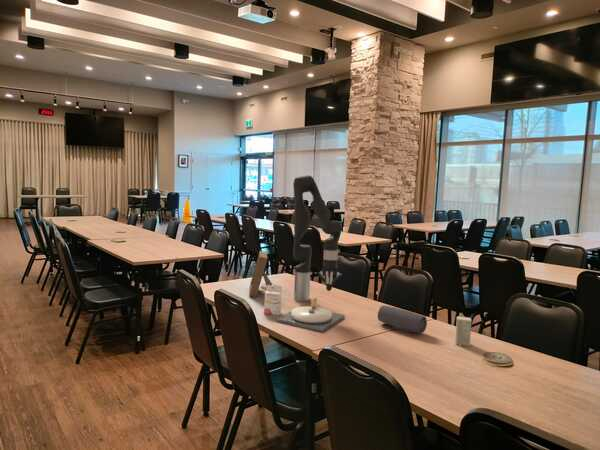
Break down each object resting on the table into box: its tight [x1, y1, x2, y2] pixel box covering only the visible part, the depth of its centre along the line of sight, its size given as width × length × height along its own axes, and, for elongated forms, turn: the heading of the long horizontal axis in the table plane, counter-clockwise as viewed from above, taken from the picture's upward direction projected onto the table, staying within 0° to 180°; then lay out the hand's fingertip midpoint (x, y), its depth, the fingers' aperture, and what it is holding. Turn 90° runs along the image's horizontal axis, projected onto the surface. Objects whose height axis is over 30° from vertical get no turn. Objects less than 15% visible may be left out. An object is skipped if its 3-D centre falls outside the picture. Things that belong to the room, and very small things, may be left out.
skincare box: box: [454, 316, 472, 347], centre depth 189 cm, size 6×4×12 cm
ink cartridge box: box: [263, 284, 282, 316], centre depth 223 cm, size 9×5×15 cm, turn 84°
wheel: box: [290, 297, 333, 323], centre depth 215 cm, size 21×21×7 cm
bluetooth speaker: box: [377, 304, 428, 334], centre depth 206 cm, size 23×9×10 cm, turn 47°
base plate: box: [276, 305, 346, 333], centre depth 215 cm, size 26×26×2 cm
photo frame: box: [248, 250, 273, 298], centre depth 262 cm, size 15×22×25 cm
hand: (328, 290), depth 221 cm, fingers closed
